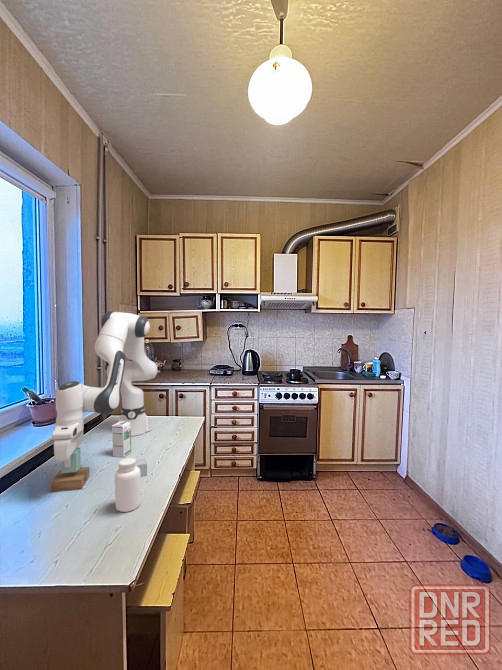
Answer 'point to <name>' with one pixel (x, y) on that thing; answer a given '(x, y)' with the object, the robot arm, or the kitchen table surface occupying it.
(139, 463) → the grey block
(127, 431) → the syrup box
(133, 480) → the pill bottle
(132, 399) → the robot arm
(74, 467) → the teal block
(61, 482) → the base block
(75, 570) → the kitchen table surface
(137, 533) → the kitchen table surface
